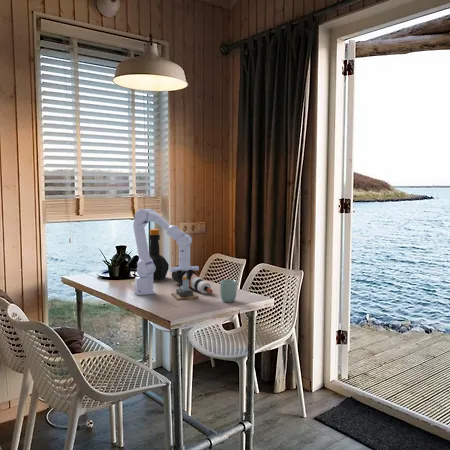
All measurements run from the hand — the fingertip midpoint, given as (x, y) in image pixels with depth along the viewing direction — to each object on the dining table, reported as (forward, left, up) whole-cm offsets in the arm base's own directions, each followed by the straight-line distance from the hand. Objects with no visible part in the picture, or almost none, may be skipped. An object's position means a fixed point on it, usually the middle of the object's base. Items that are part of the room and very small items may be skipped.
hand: (184, 285), depth 223 cm
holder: (0, 0, -6) cm, 6 cm away
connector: (0, 0, -2) cm, 2 cm away
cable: (+10, +14, -6) cm, 18 cm away
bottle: (-4, +48, -6) cm, 49 cm away
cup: (+18, -16, -6) cm, 24 cm away
